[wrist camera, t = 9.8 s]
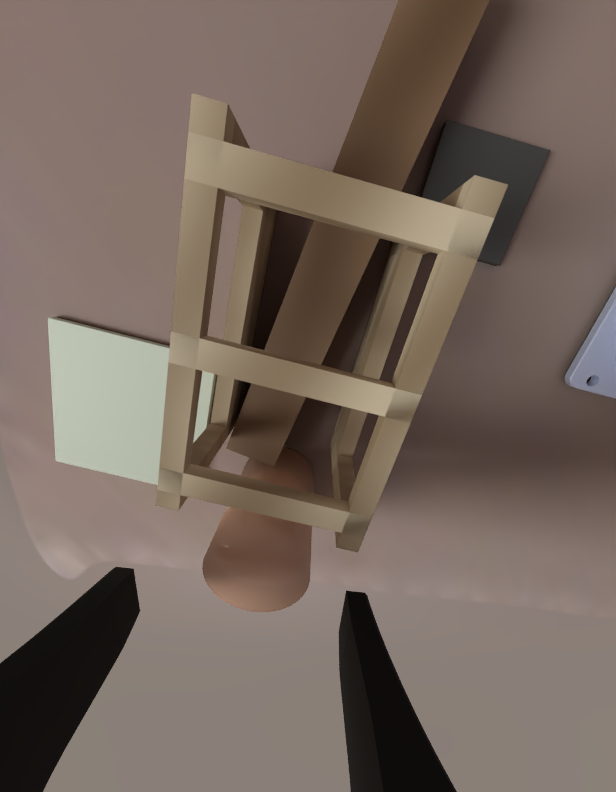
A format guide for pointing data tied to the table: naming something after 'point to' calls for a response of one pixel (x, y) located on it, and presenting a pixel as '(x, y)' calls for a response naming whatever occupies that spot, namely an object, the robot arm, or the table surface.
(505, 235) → the mat
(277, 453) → the rod
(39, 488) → the table surface
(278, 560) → the cylinder
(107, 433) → the pad
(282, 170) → the wooden ladder stand
